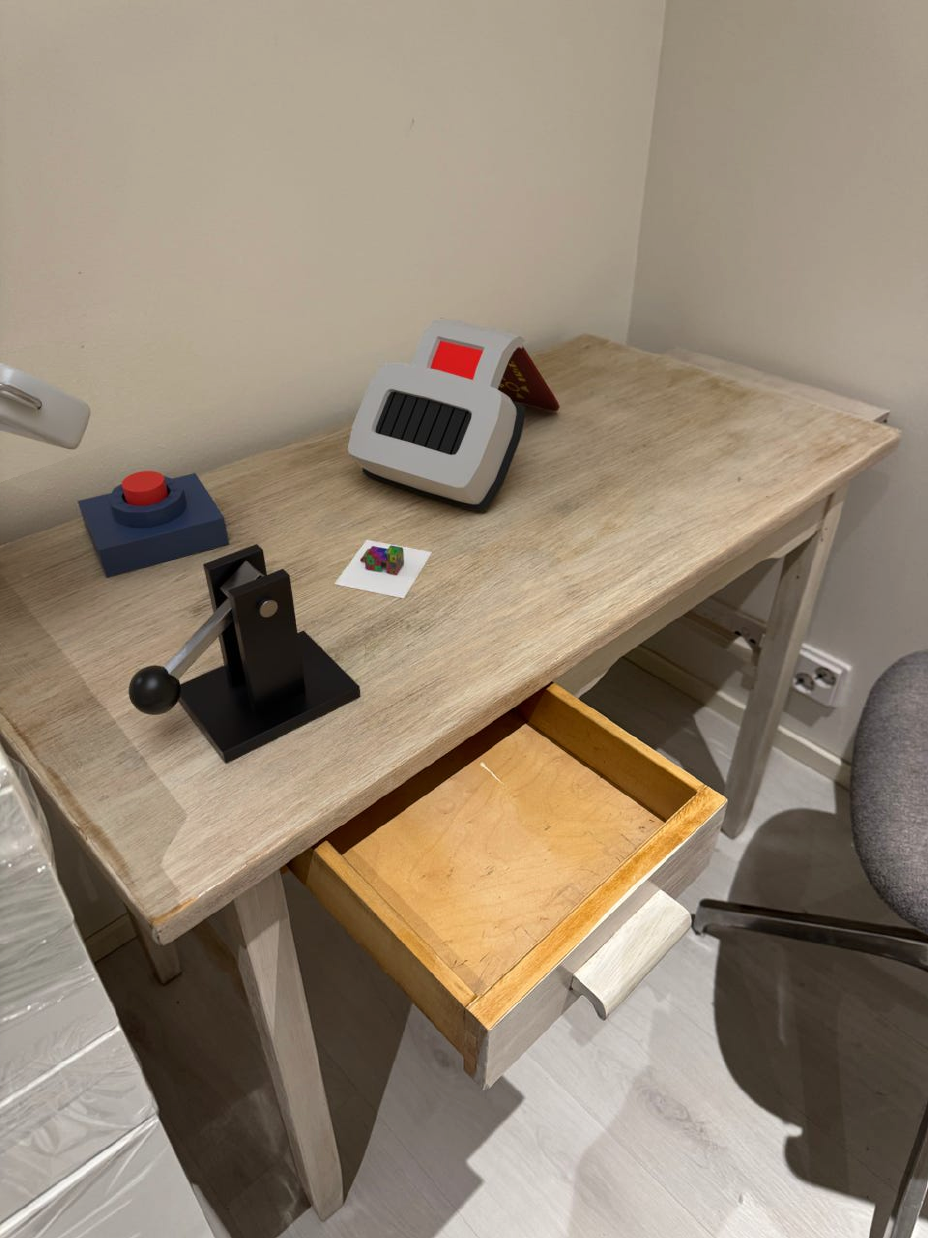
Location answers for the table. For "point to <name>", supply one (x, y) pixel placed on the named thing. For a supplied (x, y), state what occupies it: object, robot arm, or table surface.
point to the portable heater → (449, 414)
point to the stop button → (144, 488)
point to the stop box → (153, 526)
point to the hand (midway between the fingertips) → (38, 426)
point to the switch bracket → (261, 665)
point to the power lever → (184, 655)
